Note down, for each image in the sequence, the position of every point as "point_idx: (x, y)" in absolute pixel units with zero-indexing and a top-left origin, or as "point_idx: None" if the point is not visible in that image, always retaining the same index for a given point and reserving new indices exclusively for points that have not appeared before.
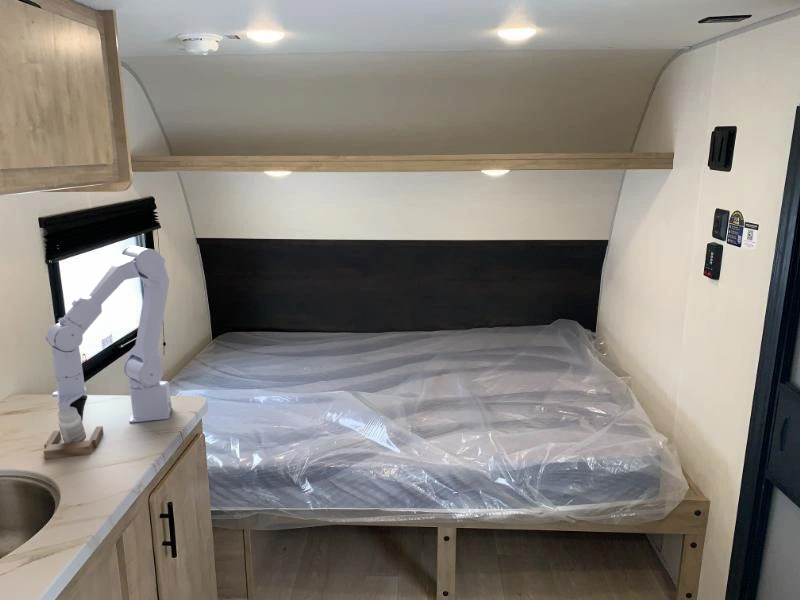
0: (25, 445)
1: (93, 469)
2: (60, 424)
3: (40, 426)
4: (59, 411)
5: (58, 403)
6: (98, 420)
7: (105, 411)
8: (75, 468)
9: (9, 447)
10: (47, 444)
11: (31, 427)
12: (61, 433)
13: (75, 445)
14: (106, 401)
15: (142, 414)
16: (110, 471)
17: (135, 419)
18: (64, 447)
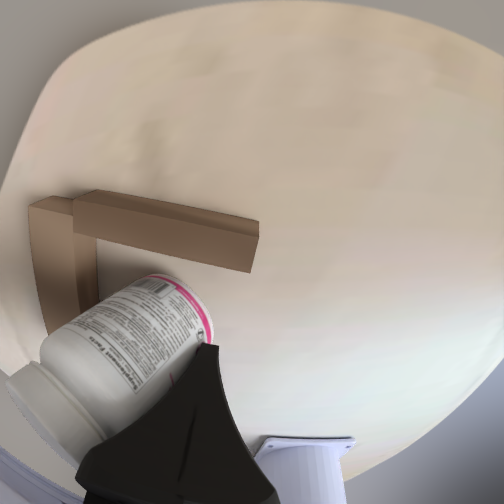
0: (242, 75)
1: (9, 324)
2: (42, 344)
3: (454, 160)
4: (35, 416)
5: (89, 482)
6: (361, 375)
7: (418, 381)
8: (8, 290)
9: (257, 10)
10: (78, 215)
11: (460, 122)
12: (108, 300)
13: (57, 322)
14: (477, 367)
15: (262, 468)
16: (9, 348)
17: (271, 448)
18: (45, 286)
